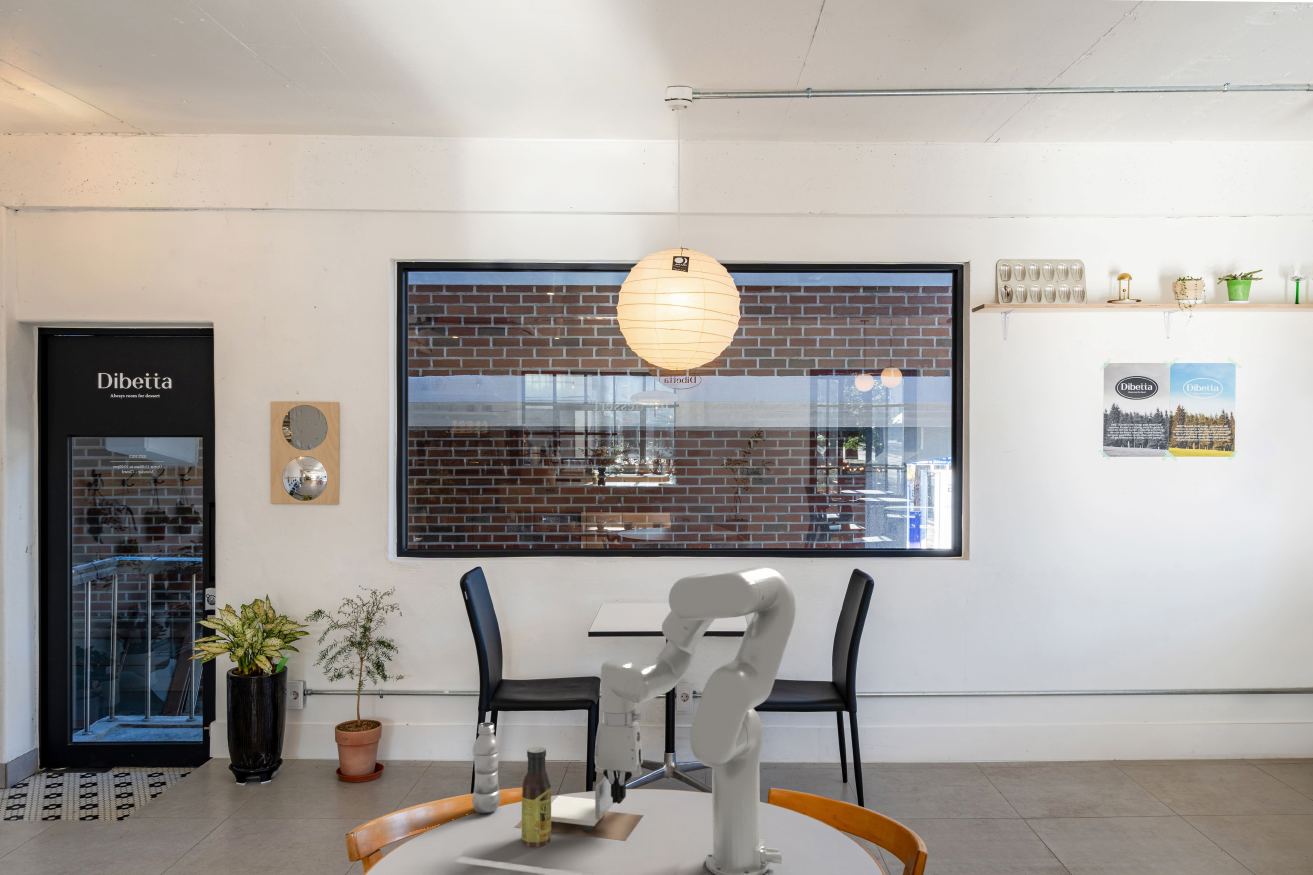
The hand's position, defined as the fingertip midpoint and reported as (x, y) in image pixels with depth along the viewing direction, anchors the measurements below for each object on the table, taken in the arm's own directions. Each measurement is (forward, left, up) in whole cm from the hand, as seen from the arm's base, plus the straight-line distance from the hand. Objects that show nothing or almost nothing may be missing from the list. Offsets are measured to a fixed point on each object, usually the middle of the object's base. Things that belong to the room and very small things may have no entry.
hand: (618, 800), depth 175 cm
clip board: (+9, 0, -6) cm, 11 cm away
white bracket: (+10, 0, -5) cm, 11 cm away
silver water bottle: (+34, -2, -7) cm, 34 cm away
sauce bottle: (+15, +11, -7) cm, 20 cm away
